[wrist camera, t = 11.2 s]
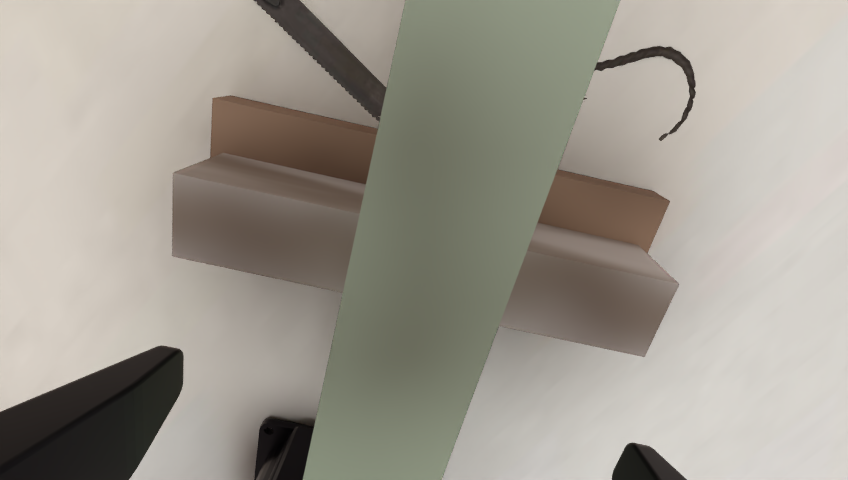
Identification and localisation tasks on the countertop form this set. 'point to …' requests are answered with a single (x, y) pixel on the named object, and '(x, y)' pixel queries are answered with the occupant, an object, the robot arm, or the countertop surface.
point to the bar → (447, 222)
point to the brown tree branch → (369, 90)
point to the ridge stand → (340, 208)
